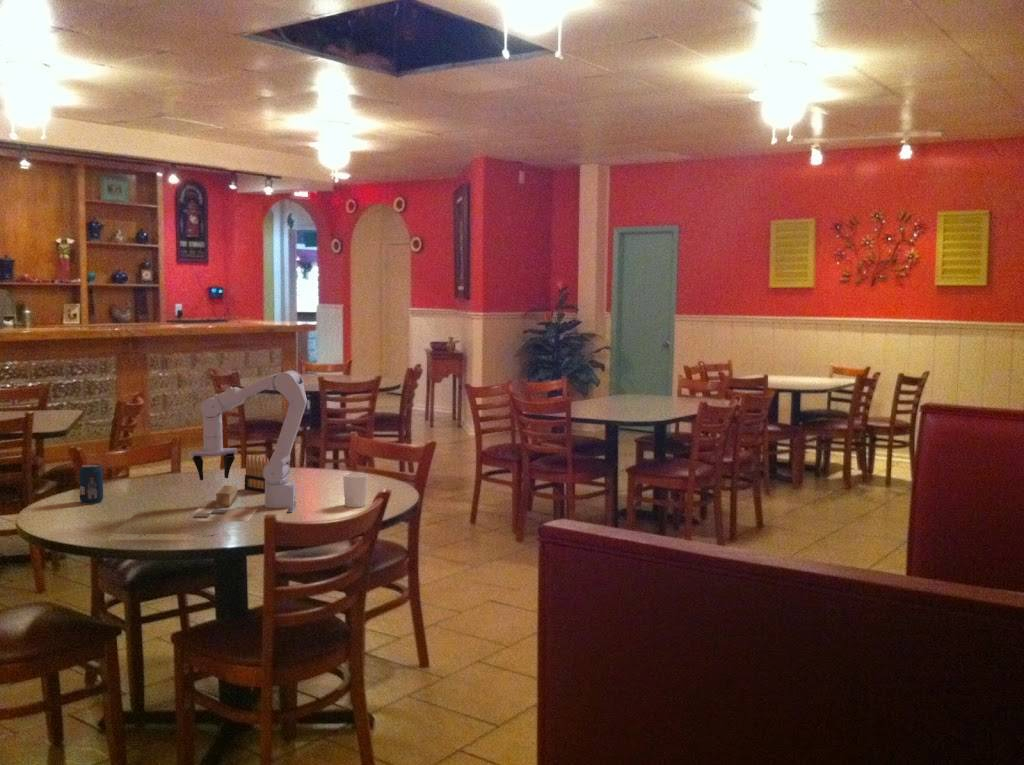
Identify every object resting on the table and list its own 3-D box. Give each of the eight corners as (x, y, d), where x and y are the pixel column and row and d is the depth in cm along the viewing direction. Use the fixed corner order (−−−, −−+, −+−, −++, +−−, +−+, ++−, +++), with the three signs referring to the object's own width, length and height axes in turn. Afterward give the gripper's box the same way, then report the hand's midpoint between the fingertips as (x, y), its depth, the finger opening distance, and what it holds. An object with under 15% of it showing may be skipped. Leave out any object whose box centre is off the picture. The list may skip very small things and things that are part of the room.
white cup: (371, 503, 329) (371, 473, 328) (361, 508, 321) (361, 478, 320) (349, 501, 331) (349, 471, 330) (339, 507, 324) (339, 476, 323)
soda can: (94, 498, 328) (93, 462, 327) (108, 501, 324) (107, 464, 323) (75, 502, 322) (74, 465, 321) (89, 505, 318) (88, 468, 317)
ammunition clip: (271, 492, 344) (271, 457, 342) (267, 493, 342) (267, 458, 341) (248, 488, 349) (247, 454, 348) (244, 489, 347) (244, 454, 346)
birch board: (257, 513, 312) (257, 508, 312) (248, 526, 296) (247, 521, 296) (198, 513, 311) (198, 508, 311) (185, 525, 295) (185, 520, 295)
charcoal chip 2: (227, 511, 308) (227, 509, 308) (224, 514, 304) (224, 512, 304) (214, 511, 308) (214, 509, 308) (211, 514, 304) (211, 512, 304)
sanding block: (237, 504, 325) (236, 485, 325) (229, 512, 314) (229, 493, 313) (224, 504, 325) (224, 485, 325) (216, 512, 313) (216, 493, 313)
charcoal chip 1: (210, 515, 303) (210, 513, 303) (207, 518, 299) (207, 516, 299) (196, 515, 302) (196, 513, 302) (193, 518, 298) (193, 516, 298)
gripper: (233, 432, 323) (234, 474, 324) (186, 435, 316) (187, 478, 317) (238, 435, 317) (239, 478, 318) (191, 438, 310) (192, 482, 311)
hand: (213, 478), depth 317 cm, fingers open, 7 cm apart
